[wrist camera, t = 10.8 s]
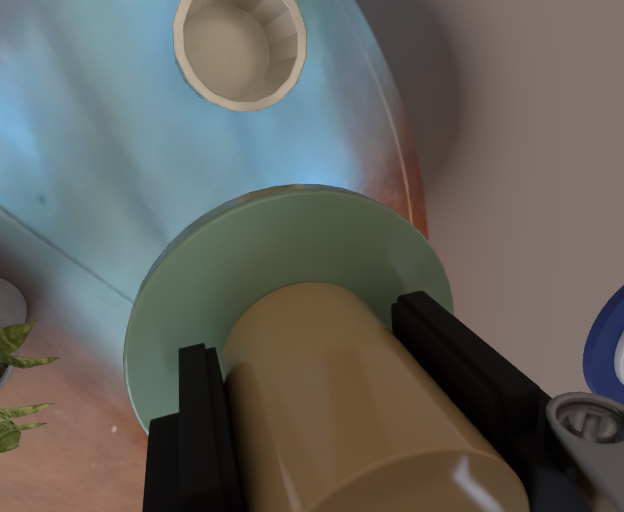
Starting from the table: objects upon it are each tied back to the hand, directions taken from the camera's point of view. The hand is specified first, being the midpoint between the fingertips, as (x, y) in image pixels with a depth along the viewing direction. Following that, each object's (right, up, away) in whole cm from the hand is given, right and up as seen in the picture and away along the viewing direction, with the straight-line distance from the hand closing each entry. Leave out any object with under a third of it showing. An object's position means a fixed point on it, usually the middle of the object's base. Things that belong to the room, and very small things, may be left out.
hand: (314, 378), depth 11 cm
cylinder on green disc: (0, +1, +2) cm, 2 cm away
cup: (-6, +16, +20) cm, 27 cm away
